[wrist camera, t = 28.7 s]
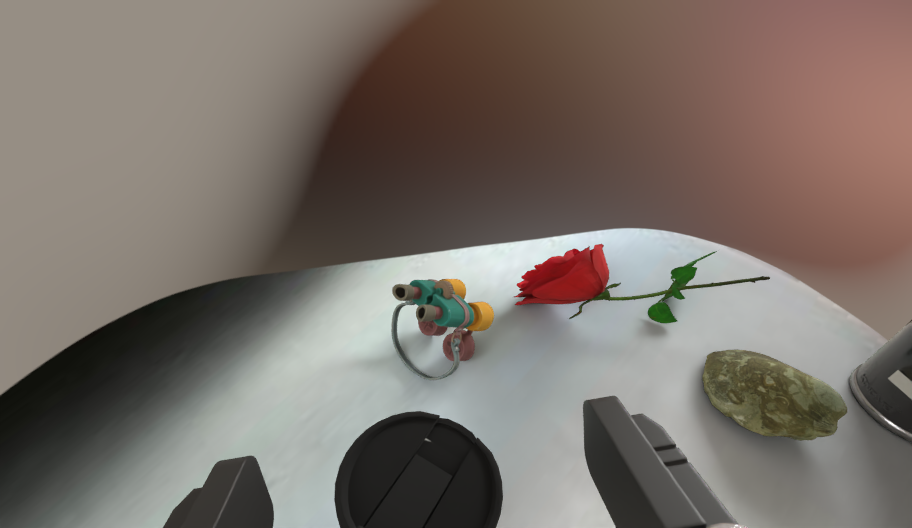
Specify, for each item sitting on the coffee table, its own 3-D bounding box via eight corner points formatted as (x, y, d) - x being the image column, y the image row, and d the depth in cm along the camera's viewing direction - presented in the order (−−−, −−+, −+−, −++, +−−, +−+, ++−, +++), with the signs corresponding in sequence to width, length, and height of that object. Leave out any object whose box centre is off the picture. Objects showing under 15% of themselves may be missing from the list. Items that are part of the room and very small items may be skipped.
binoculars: (463, 391, 45) (512, 311, 43) (401, 406, 38) (455, 312, 36) (409, 334, 51) (450, 260, 48) (345, 339, 43) (389, 252, 41)
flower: (779, 216, 49) (512, 236, 47) (811, 298, 46) (525, 323, 44) (730, 248, 58) (501, 266, 56) (754, 319, 54) (512, 340, 53)
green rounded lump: (697, 337, 48) (809, 316, 41) (726, 369, 51) (835, 356, 44) (702, 429, 42) (836, 424, 35) (735, 460, 45) (863, 461, 38)
